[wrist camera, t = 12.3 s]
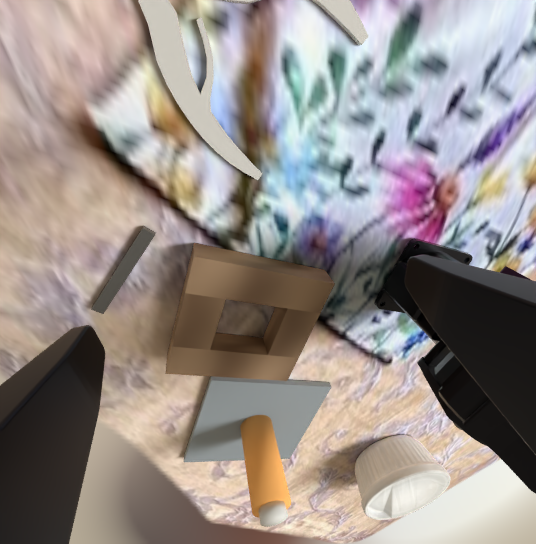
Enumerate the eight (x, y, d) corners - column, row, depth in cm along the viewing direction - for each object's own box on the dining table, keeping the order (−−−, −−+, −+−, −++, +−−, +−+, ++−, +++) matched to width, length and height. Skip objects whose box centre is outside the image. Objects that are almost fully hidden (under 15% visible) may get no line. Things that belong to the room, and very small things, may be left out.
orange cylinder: (275, 415, 30) (299, 507, 24) (265, 434, 32) (285, 527, 25) (245, 414, 29) (261, 510, 22) (236, 435, 31) (249, 531, 24)
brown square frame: (324, 269, 23) (334, 283, 22) (281, 363, 28) (287, 381, 26) (193, 242, 20) (194, 256, 18) (167, 354, 24) (165, 373, 22)
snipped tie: (143, 225, 19) (142, 228, 18) (155, 232, 19) (154, 235, 19) (92, 305, 21) (91, 309, 20) (104, 310, 21) (103, 314, 21)
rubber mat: (329, 382, 30) (331, 387, 30) (288, 453, 35) (289, 458, 35) (211, 374, 26) (211, 380, 26) (183, 456, 31) (183, 462, 31)
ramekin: (330, 465, 39) (348, 513, 35) (399, 417, 37) (427, 462, 33) (373, 483, 45) (392, 526, 41) (435, 442, 43) (464, 483, 38)
